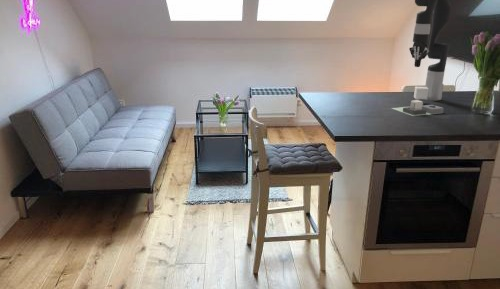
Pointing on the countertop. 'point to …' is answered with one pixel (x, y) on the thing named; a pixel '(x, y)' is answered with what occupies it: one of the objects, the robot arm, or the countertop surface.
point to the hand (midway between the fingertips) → (417, 66)
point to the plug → (416, 105)
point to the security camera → (421, 93)
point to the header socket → (414, 111)
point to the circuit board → (429, 109)
